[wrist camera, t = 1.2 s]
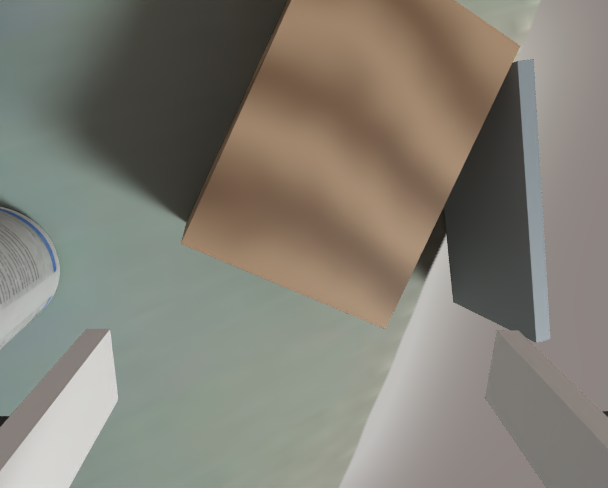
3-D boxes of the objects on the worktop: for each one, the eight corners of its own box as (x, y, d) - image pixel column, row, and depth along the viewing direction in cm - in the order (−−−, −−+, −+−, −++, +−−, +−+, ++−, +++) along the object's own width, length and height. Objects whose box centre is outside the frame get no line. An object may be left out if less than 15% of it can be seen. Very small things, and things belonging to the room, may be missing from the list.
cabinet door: (432, 92, 39) (517, 61, 29) (460, 88, 40) (554, 56, 29) (453, 302, 43) (536, 342, 33) (478, 295, 44) (568, 333, 33)
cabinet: (332, 285, 41) (385, 328, 29) (186, 222, 37) (180, 243, 25) (426, 83, 40) (520, 45, 28) (288, -2, 36) (330, -86, 24)
